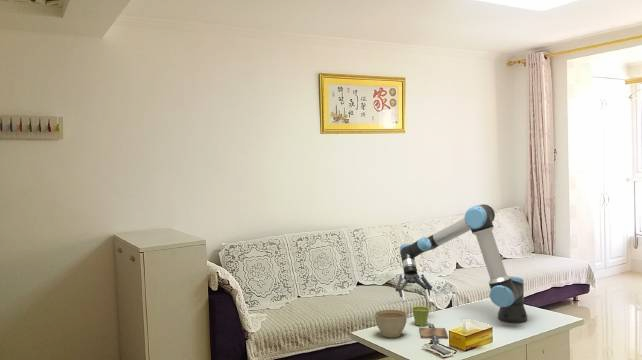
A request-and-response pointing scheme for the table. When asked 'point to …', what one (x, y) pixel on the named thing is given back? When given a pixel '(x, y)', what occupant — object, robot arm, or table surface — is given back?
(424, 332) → the pad
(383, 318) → the planter bowl
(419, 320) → the plant pot
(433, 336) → the chain ends
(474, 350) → the table surface
